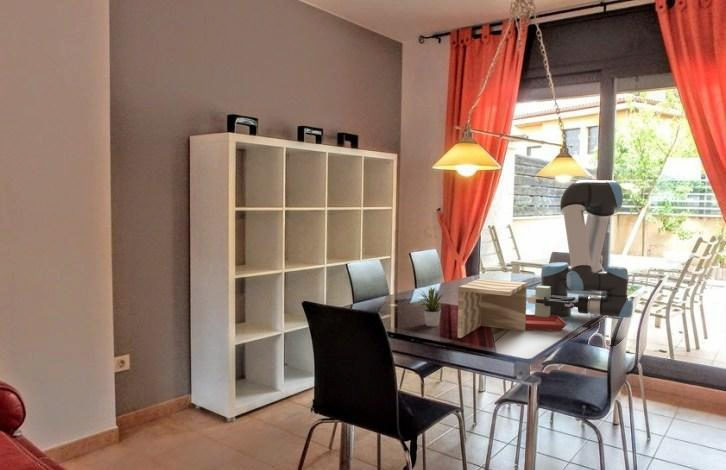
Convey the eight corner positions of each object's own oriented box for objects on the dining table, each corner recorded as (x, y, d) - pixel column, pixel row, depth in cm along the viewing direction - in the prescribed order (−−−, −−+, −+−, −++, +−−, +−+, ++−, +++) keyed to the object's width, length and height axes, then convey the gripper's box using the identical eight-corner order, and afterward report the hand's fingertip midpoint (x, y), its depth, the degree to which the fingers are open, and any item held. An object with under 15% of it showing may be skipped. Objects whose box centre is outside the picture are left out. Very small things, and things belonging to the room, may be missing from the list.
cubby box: (478, 324, 226) (479, 278, 224) (525, 330, 216) (526, 282, 214) (457, 337, 205) (458, 286, 203) (508, 344, 195) (509, 291, 193)
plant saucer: (514, 320, 234) (515, 313, 234) (558, 322, 232) (558, 315, 231) (520, 330, 217) (520, 322, 216) (566, 333, 214) (567, 324, 214)
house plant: (411, 320, 232) (411, 283, 231) (442, 320, 233) (443, 283, 232) (416, 328, 218) (417, 289, 217) (450, 328, 219) (450, 288, 218)
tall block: (537, 313, 227) (538, 285, 226) (549, 314, 224) (550, 286, 223) (534, 315, 222) (535, 287, 222) (547, 317, 220) (548, 288, 219)
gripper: (585, 318, 206) (524, 311, 218) (592, 309, 222) (534, 303, 233) (586, 298, 206) (524, 293, 217) (592, 291, 221) (535, 286, 233)
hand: (529, 298), depth 225 cm, fingers closed on tall block, 5 cm apart
